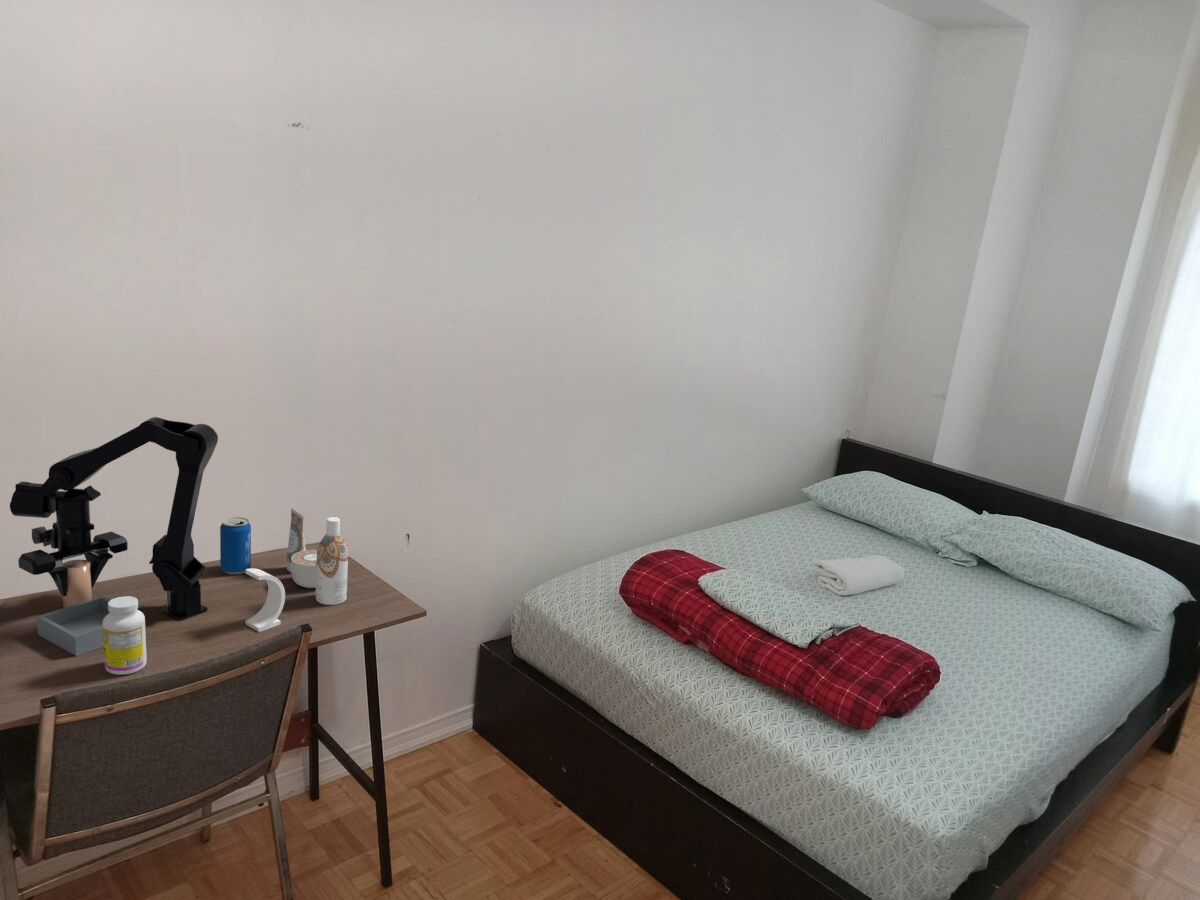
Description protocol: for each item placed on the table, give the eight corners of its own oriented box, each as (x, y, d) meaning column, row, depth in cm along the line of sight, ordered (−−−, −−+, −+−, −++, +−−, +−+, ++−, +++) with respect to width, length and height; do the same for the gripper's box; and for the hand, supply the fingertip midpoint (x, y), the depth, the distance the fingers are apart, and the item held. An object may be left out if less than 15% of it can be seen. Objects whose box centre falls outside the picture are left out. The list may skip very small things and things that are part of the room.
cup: (97, 605, 179) (95, 564, 177) (72, 613, 175) (70, 571, 172) (83, 598, 181) (81, 557, 179) (58, 605, 177) (55, 564, 175)
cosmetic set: (271, 569, 205) (271, 492, 200) (309, 562, 211) (310, 487, 206) (317, 609, 187) (319, 527, 182) (357, 600, 193) (360, 520, 188)
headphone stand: (245, 624, 177) (245, 569, 174) (271, 615, 182) (271, 561, 179) (258, 632, 175) (259, 576, 172) (285, 622, 180) (285, 568, 177)
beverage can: (240, 577, 198) (240, 527, 195) (214, 572, 199) (213, 523, 196) (256, 567, 204) (256, 519, 201) (231, 563, 205) (231, 514, 202)
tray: (142, 632, 170) (141, 614, 169) (76, 656, 159) (75, 637, 158) (103, 613, 176) (102, 595, 175) (38, 634, 165) (36, 616, 164)
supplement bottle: (114, 657, 160) (112, 592, 157) (152, 658, 161) (150, 594, 158) (97, 675, 154) (94, 608, 151) (137, 677, 155) (134, 610, 151)
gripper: (96, 499, 185) (99, 567, 189) (0, 519, 169) (6, 594, 173) (128, 512, 180) (130, 582, 184) (32, 534, 164) (37, 611, 168)
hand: (77, 591), depth 177 cm, fingers closed on cup, 5 cm apart
